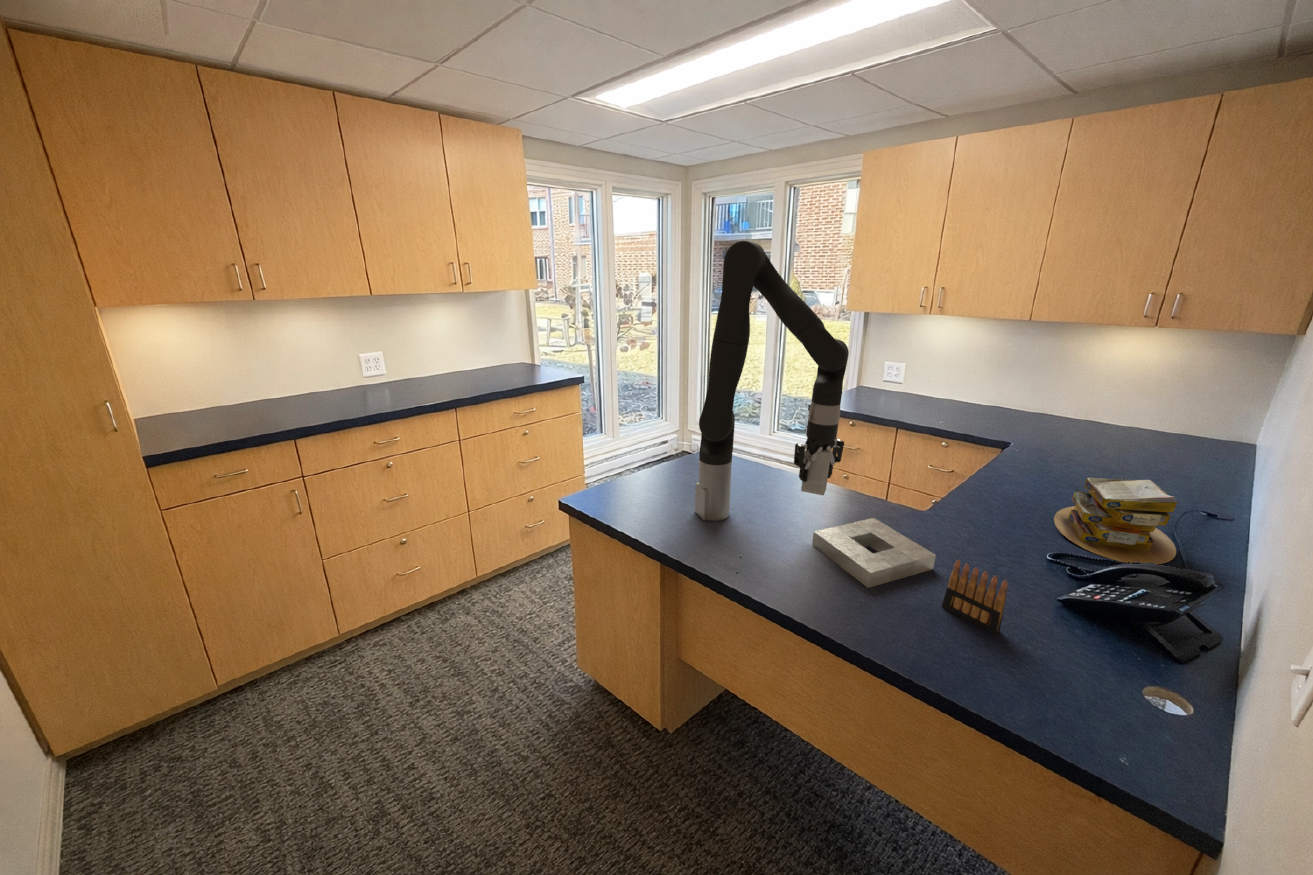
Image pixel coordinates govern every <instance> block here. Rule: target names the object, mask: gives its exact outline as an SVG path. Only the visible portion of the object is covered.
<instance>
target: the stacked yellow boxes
mask: <svg viewBox="0 0 1313 875" xmlns="http://www.w3.org/2000/svg"><path fill="white" fill-rule="evenodd" d="M1083 488H1085V489H1086V490H1087V491H1088V492H1085V491H1083V490H1082V491H1081V490H1080V489H1077V488H1074V491H1073V496H1072V499H1071V502H1072V504H1073V505H1074V506H1072V505H1071V506H1067V507H1064V508H1062V509H1059V510H1058V511H1057V512H1056V513H1055V515H1054V516H1053V522H1054V525H1055V527H1056V528H1057V530H1058V531H1059V533H1060V534H1062V535H1063V537H1064V536H1065V538H1067V539H1068V540H1069V541H1071V542H1072V543H1073V544H1075V545H1077V546H1079V547H1080V548H1082V549H1084V550H1086V551H1088V552H1091V553H1092V554H1096V555H1098V556H1102V557H1104V558H1108V559H1111V560H1114V561H1118V562H1121V563H1128V562H1130V563H1128V564H1132V562H1140V563H1154V564H1156V565H1163V564H1165V563H1169V562H1170V561H1172V560H1174V558H1176V555H1177V547H1176V546H1175V544H1174V542H1173V541H1172V540H1171V538H1170V537H1169V536H1168V535H1167V534H1165V533H1164V532H1163V531H1161V530H1160V529H1158V528H1157V527H1158V526H1167V525H1168V523H1169V522H1170V519H1171V515H1170V513H1174V511H1175V509H1176V507H1177V505H1178V502H1177V501H1176V498H1175V496H1172V495H1169V494H1168V492H1166V491H1165V490H1164V489H1163V488H1161V487H1160V486H1159V485H1158V484H1156V483H1155V482H1153V481H1152V480H1151V479H1134V480H1133V479H1131V478H1130V479H1129V478H1127V479H1124V478H1123V479H1121V478H1120V479H1119V477H1116V478H1114V479H1113V478H1111V479H1110V478H1105V477H1102V478H1101V477H1098V478H1096V477H1087V478H1086V480H1085V484H1084V486H1083Z"/></svg>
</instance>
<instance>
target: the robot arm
mask: <svg viewBox="0 0 1313 875" xmlns="http://www.w3.org/2000/svg"><path fill="white" fill-rule="evenodd" d="M754 288H755V289H756V290H757V291H758V292H759V293H760V294H761V296H762V297H763V298H765V300H766V301H767V303H768V304H769V305H770V307H771V308H772V309H773V310H772V311H774V312H775V314H776V315H777V317H778V319H779V320H780V321H781V323H782V324H783V325H784V326H785V328H787V330H788V331H789V332H790V333H791V334H792V335H793V336H794V337H795V338H796V339H797V340H798V341H799V342H800V343H801V345H802V346H803V347H804V349H805V350H806V352H807V354H808V355H809V356H810V358H811V359H812V360H813V361H814V362H815V364H816V365H817V371H816V379H815V381H814V383H813V388H812V394H811V400H810V401H811V402H810V405H809V409H808V418H807V423H806V431H805V432H806V433H805V434H806V440H805V443H798V442H797V443H795V445H794V456H793V464H794V465H795V466H797V467H798V468H799V473H798V478H799V480H800V481H801V482H802V481H803V482H807V478H808V471H809V469H808V468H809V466H810V465H811V463H812V462H814V461H815V459H816V458H817V456H818V454H819V453H821V451H822V450H826V451H830V450H831V449H832V450H831V455H830V464H829V472H828V479H831V476H833V470H834V465H835V464H836V463H841V460H842V456H843V450H844V446H845V441H843V440H842V439H840V438H837V436H838V431H839V430H838V429H839V424H840V416H841V403H842V397H843V387H844V386H843V385H844V378H845V374H846V371H847V370H846V369H847V365H848V359H849V347H848V345H847V344H846V343H845V342H844V341H842V340H841V339H838V338H835V337H834V335H832V334H831V333H830V332H829V331H828V330H827V329H826V327H825V324H824V322H823V321H822V319H821V318H820V317H819V316H818V315H817V314H816V312H815V311H813V309H811V307H810V306H809V305H808V304H807V303H806V302H805V301H804V299H802V298H801V297H800V296H799V295H798V294H797V293H796V292H795V290H793V289H792V288H791V287H790V286H789V284H788V283H787V282H786V281H785V279H783V277H782V276H781V275H780V274H779V272H778V270H777V269H776V268H775V266H774V265H773V263H772V261H771V260H770V259H769V257H768V255H767V254H766V252H765V250H764V248H763V247H762V246H761V245H760V244H759V243H757V242H755V241H751V240H747V239H741V240H737V241H735V242H734V243H732V244H731V245H730V246H729V247H728V249H727V250H726V252H725V254H724V257H723V267H722V285H721V295H720V296H721V297H720V301H719V307H718V311H717V316H716V321H715V326H714V332H713V337H712V344H711V350H710V359H709V364H708V365H709V367H708V381H707V382H708V383H707V391H706V395H705V400H704V402H703V406H702V410H701V413H700V416H699V420H698V427H699V431H700V432H701V434H700V435H701V436H700V446H699V452H698V453H699V456H698V457H699V458H698V462H699V463H698V482H695V494H694V496H695V497H694V513H696V514H697V515H698V517H699V518H701V519H702V520H703V521H714V522H715V521H716V522H717V521H723V520H726V519H727V518H729V516H730V502H731V500H730V499H731V485H732V484H731V483H732V482H731V481H732V480H731V479H732V466H733V465H732V463H733V452H734V440H735V439H734V438H735V437H734V436H735V426H736V424H735V423H736V422H735V419H736V418H735V417H736V416H735V413H734V403H735V402H734V401H735V395H736V392H737V388H738V385H739V382H740V379H741V376H742V374H743V370H744V366H745V363H746V362H745V361H746V358H747V354H748V348H749V344H750V343H749V342H750V336H751V335H750V334H751V316H750V304H751V298H752V293H753V289H754ZM806 449H807V451H808V450H809V453H810V454H811V455H812V456H811V457H808V456H806ZM805 459H807V462H806V464H805Z"/></svg>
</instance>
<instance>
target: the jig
mask: <svg viewBox="0 0 1313 875" xmlns="http://www.w3.org/2000/svg"><path fill="white" fill-rule="evenodd" d="M812 534H813V535H812V543H811V545H812V546H813V547H814V548H816V549H817V550H818V551H819V552H820V553H822V554H823V555H824V556H826V557H827V558H829V560H831V561H832V562H833V563H835V564H836V565H838V566H839V567H840V568H842V569H843V570H844V571H845V572H847V573H848V574H849V575H851V576H852V577H853V578H854V579H856V580H857V581H859V582H860V583H862V585H864V586H865V587H866V588H867V589H870V588H874V587H876V586H877V587H878V586H879V585H883V584H887V583H891V582H894V581H897V580H900V579H905V578H907V577H911V576H915V575H917V574H921V573H924V572H925V573H926V572H928V571H929V572H930V571H932V570H933V569H934V566H935V561H936V557H937V554H935V553H933V552H932V551H930V550H928V549H927V548H925V547H923V546H922V545H920V544H918V543H917V542H915V541H913V540H912V539H910V538H909V537H907V536H905V535H903V534H901V533H900V532H898V531H897V530H895V529H893V528H892V527H890V526H888V525H887V524H885V523H883V522H882V521H880V520H878V519H877V518H875V517H871V518H867V519H862V520H857V521H853V522H850V523H849V522H848V523H845V524H840V525H835V526H832V527H831V526H830V527H827V528H823V529H818V530H814V531H813V533H812ZM867 547H870V548H871V549H873V550H874V551H875V552H874V553H873V552H872V551H870V550H868V549H867Z"/></svg>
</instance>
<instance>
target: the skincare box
mask: <svg viewBox="0 0 1313 875" xmlns="http://www.w3.org/2000/svg"><path fill="white" fill-rule="evenodd" d="M805 451H806V456H808V457H811V456H812V455H811V454H810V453H809V450H808V451H807V449H806V450H805ZM831 451H833V448H832V449H831V450H830V451H826V450H822V451H821V453H819V454H818V456H817V458H816V459H815V461H814V462H812V463H811V465H810V466H809V468H808V469H809V471H808V478H807V482H803V481H801V489H800V491H801V492H802V493H809V494H814V495H819V496H825V493H826V492H827V485H828V479H829V478H828V472H829V464H830V455H831ZM806 462H807V459H805V464H806Z"/></svg>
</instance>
